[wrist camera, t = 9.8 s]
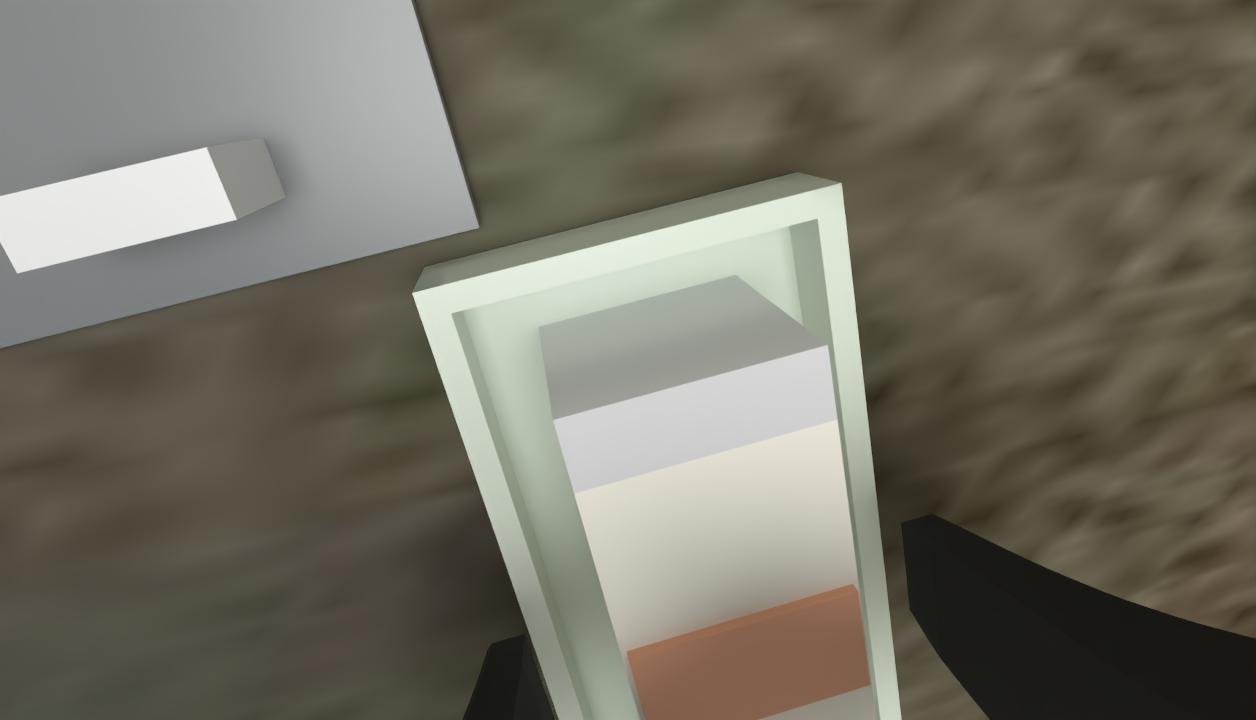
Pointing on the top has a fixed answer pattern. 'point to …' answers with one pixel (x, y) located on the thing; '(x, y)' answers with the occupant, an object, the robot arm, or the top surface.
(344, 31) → the board
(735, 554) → the fuse
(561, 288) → the tray
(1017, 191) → the top surface
